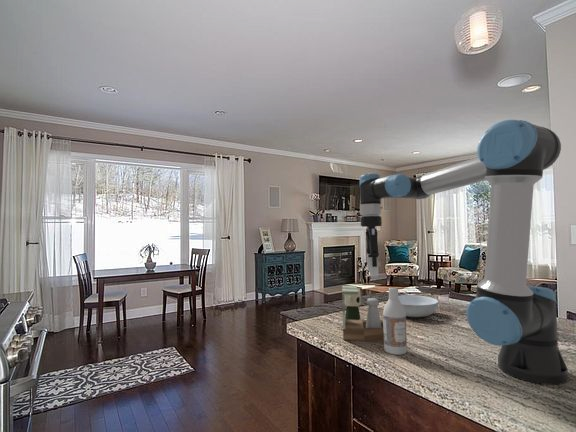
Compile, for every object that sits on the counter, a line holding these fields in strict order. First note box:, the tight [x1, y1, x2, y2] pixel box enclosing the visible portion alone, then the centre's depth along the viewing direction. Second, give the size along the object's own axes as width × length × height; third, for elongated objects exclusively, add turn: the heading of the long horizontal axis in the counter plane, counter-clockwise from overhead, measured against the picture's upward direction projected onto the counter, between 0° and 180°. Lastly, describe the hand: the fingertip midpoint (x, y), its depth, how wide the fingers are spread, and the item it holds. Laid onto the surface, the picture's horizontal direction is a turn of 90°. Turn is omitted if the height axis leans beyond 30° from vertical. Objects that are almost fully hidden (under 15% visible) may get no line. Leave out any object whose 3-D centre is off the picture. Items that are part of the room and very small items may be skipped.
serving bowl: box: [398, 294, 439, 318], centre depth 145 cm, size 21×21×7 cm
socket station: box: [341, 285, 384, 343], centre depth 119 cm, size 12×17×17 cm
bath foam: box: [382, 287, 408, 356], centre depth 104 cm, size 7×7×20 cm
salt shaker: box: [366, 297, 382, 328], centre depth 118 cm, size 6×6×13 cm
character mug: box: [345, 288, 362, 320], centre depth 138 cm, size 11×7×13 cm, turn 158°
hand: (372, 273), depth 119 cm, fingers open, 13 cm apart
